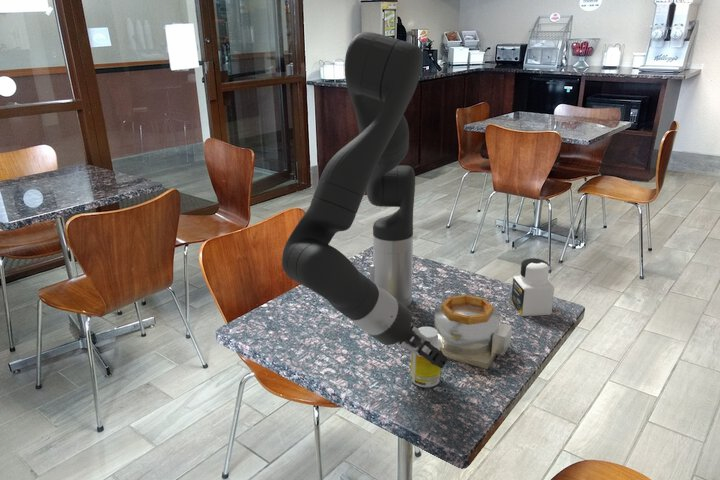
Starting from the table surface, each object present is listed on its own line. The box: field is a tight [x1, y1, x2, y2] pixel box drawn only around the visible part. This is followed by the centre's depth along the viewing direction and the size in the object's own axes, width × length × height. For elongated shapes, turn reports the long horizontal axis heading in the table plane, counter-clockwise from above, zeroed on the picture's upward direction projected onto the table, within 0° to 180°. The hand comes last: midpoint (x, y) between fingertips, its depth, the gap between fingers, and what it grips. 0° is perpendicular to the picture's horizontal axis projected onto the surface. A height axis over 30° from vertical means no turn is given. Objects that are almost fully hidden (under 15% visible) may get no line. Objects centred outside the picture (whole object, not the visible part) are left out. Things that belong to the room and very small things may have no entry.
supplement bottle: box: [409, 326, 442, 388], centre depth 101 cm, size 6×6×10 cm
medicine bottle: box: [510, 257, 555, 317], centre depth 126 cm, size 7×7×12 cm
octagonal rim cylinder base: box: [433, 294, 513, 370], centre depth 113 cm, size 16×14×9 cm
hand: (433, 355), depth 102 cm, fingers closed on supplement bottle, 5 cm apart
